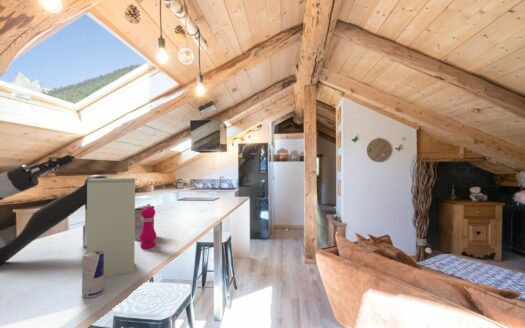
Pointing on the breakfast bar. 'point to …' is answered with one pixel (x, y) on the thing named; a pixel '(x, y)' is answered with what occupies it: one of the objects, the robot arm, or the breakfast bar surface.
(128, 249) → the post
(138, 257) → the breakfast bar surface
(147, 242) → the pepper mill
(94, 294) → the energy drink
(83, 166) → the bar
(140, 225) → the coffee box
